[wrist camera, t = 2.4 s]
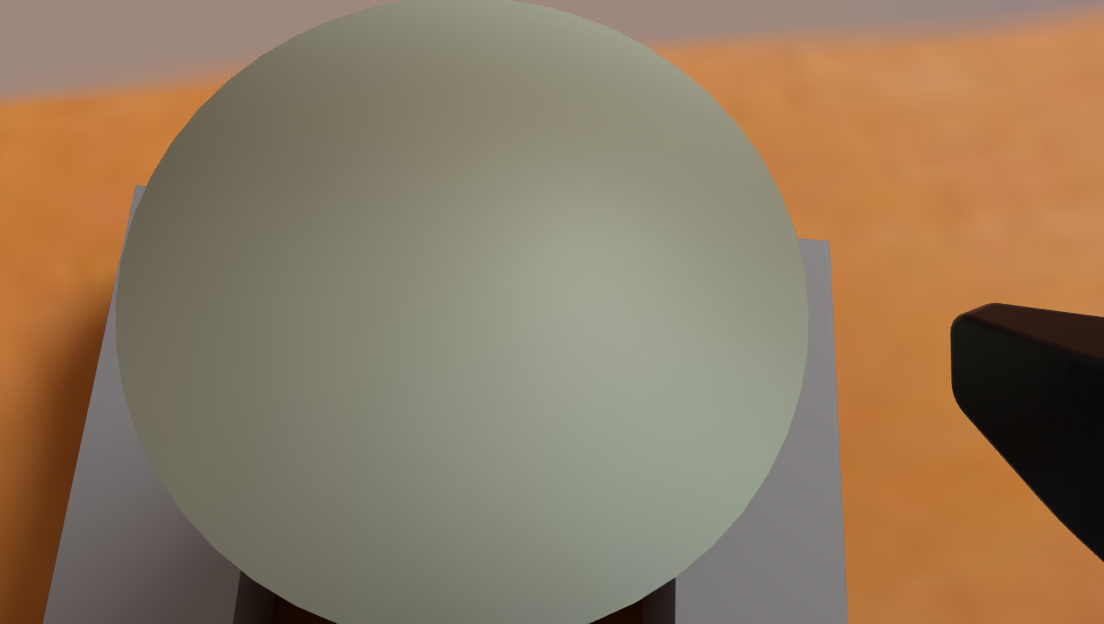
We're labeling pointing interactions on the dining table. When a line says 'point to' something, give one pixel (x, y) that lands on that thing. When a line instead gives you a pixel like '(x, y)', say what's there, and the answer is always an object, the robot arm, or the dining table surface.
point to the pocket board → (246, 606)
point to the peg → (461, 318)
